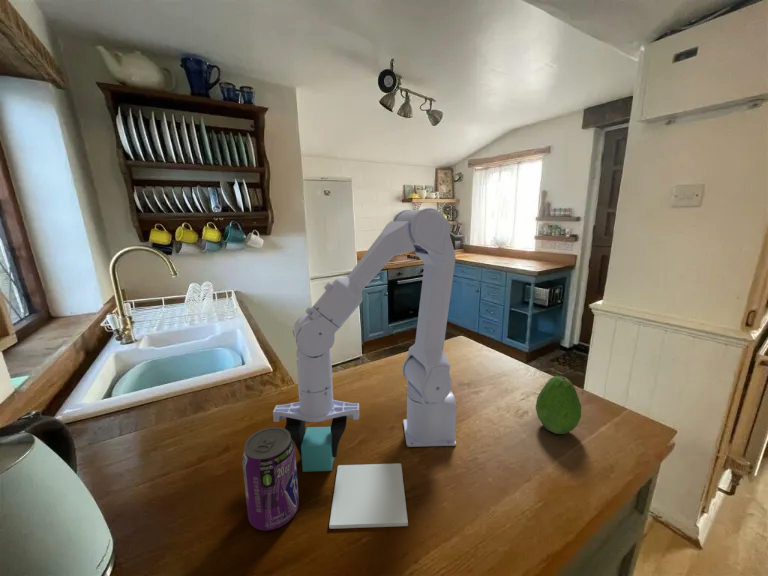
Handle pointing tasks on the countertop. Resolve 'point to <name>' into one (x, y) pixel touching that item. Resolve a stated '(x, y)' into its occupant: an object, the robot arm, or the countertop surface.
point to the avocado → (558, 406)
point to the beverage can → (270, 478)
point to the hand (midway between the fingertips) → (319, 453)
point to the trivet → (368, 497)
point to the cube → (317, 449)
